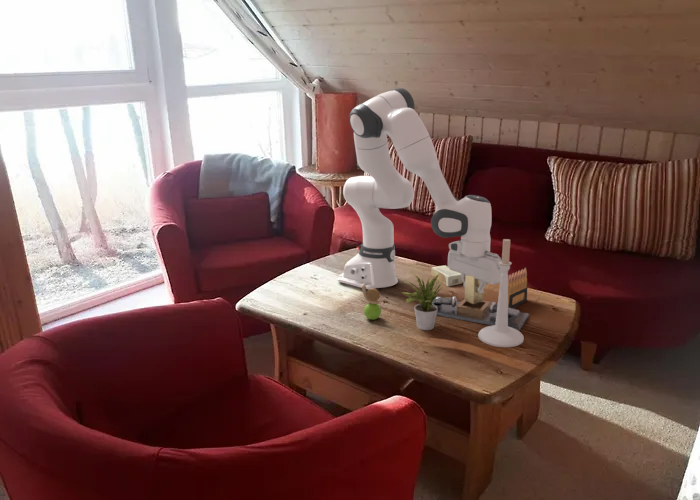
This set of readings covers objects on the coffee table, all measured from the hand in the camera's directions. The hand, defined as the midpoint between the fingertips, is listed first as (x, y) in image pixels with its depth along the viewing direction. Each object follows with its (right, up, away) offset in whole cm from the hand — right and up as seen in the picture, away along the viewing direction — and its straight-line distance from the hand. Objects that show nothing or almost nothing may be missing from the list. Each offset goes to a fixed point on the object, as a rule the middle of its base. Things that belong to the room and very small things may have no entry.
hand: (473, 290), depth 182 cm
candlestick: (+5, -13, -14) cm, 20 cm away
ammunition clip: (+16, -6, +10) cm, 20 cm away
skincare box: (-1, +1, +26) cm, 27 cm away
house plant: (-16, -11, -4) cm, 19 cm away
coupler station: (+1, -8, +3) cm, 8 cm away
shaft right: (+9, -8, -3) cm, 13 cm away
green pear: (-32, -9, +1) cm, 34 cm away
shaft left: (-9, -6, +6) cm, 12 cm away
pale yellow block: (0, -4, +1) cm, 4 cm away
